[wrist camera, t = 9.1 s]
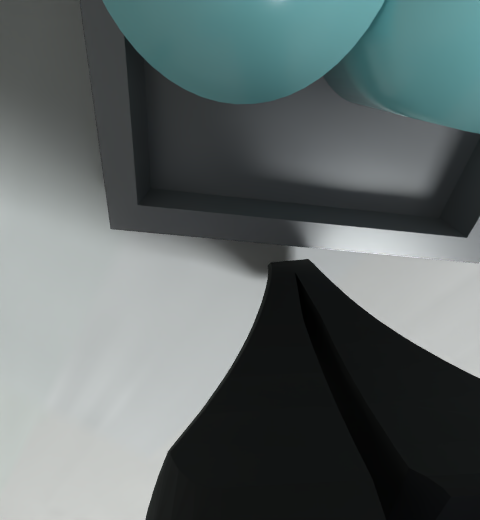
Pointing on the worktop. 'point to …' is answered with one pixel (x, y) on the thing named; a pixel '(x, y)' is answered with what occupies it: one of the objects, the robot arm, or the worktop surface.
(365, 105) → the teal rounded cylinder
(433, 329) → the worktop surface
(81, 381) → the worktop surface
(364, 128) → the tray
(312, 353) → the robot arm
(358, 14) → the teal rounded capsule
